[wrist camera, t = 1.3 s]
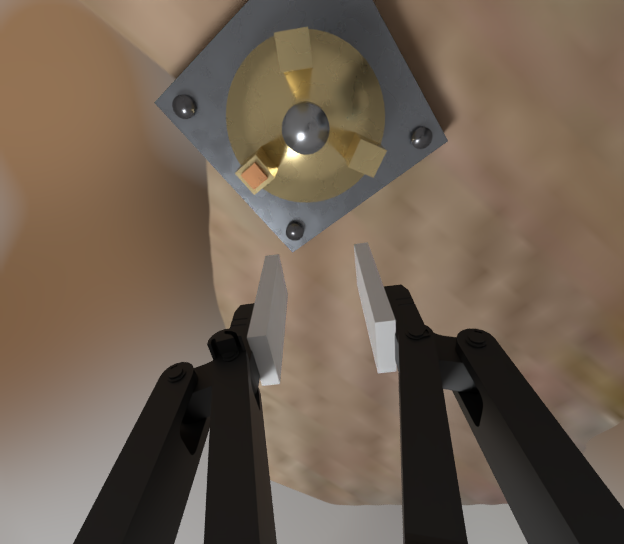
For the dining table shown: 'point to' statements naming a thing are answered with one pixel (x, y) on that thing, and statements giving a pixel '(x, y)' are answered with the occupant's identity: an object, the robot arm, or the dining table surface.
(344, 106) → the three-jaw lathe chuck
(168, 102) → the plate
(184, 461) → the robot arm
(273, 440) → the dining table surface
